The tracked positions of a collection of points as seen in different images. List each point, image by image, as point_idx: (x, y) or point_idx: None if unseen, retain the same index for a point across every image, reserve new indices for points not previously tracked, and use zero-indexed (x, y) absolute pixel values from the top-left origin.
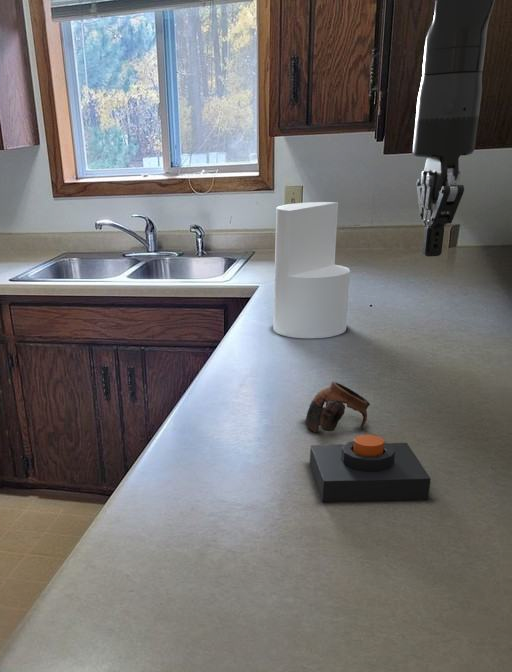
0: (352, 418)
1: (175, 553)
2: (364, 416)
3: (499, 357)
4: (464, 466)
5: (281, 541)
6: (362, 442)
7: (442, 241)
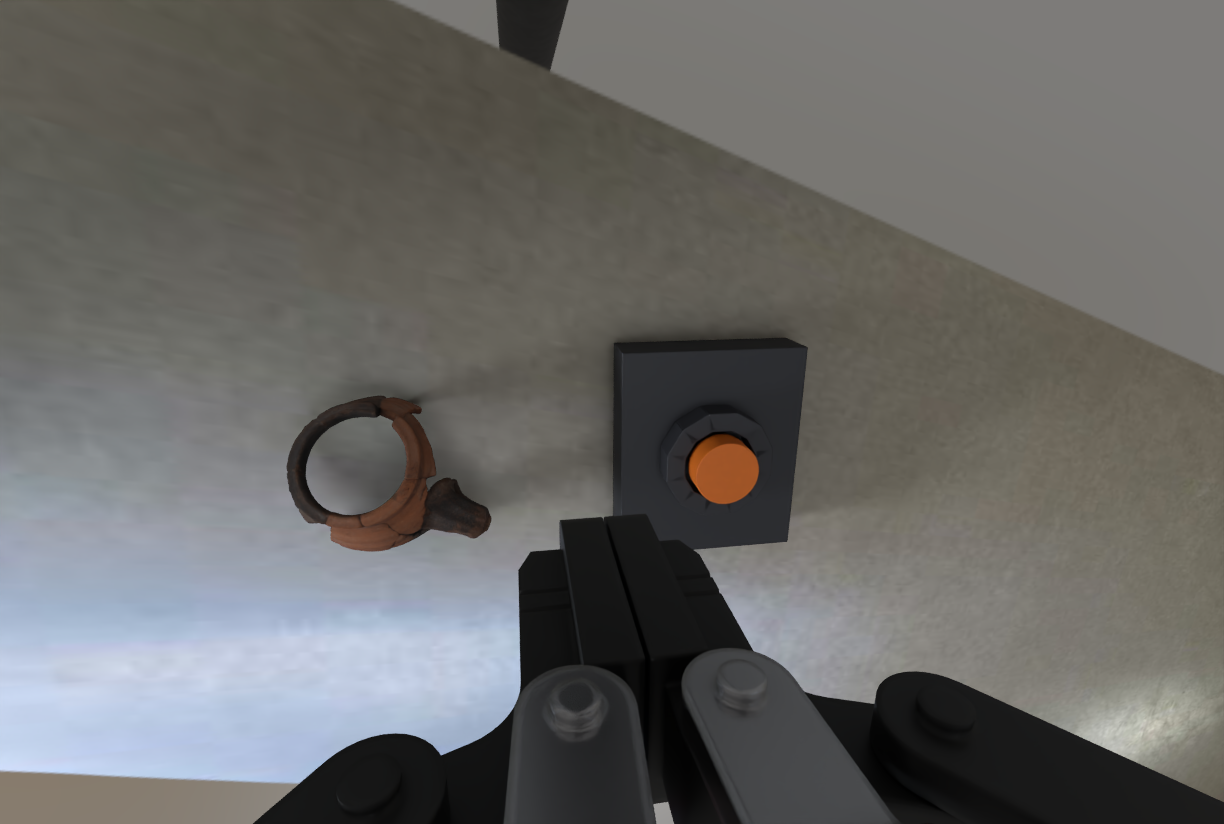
0: None
1: None
2: (410, 412)
3: None
4: (643, 213)
5: (876, 583)
6: (737, 489)
7: (668, 566)
